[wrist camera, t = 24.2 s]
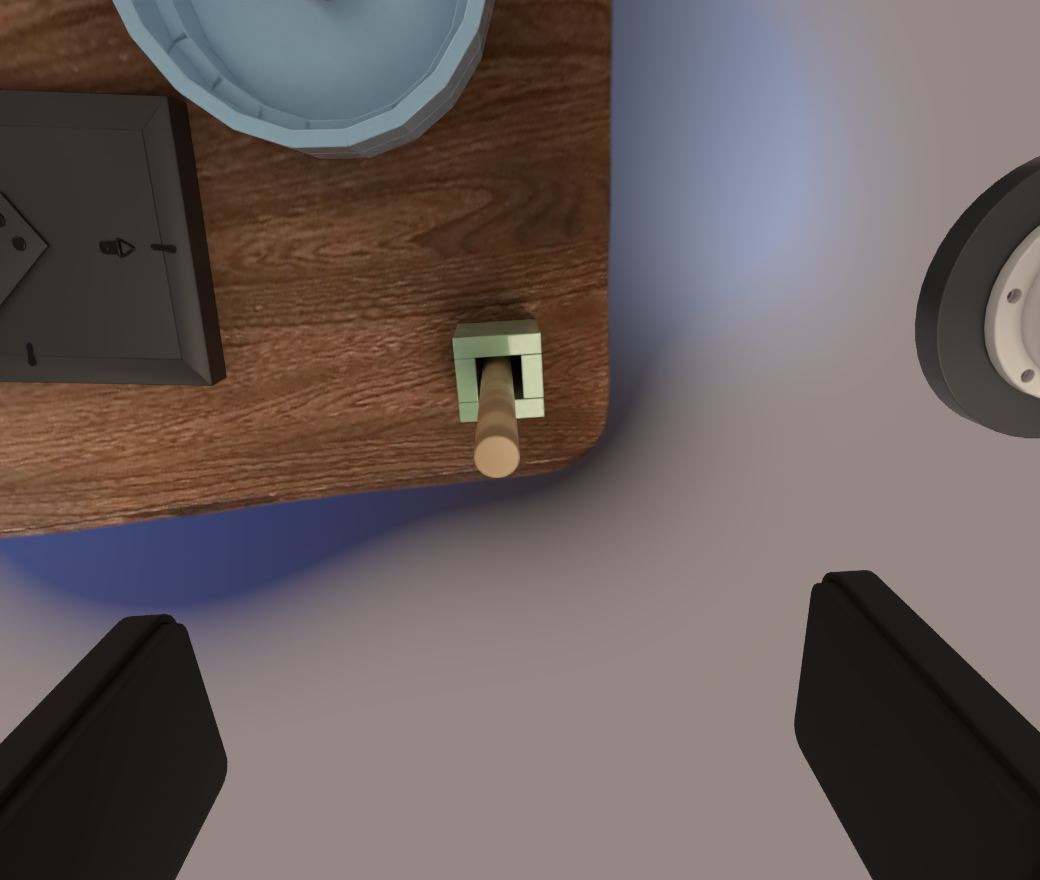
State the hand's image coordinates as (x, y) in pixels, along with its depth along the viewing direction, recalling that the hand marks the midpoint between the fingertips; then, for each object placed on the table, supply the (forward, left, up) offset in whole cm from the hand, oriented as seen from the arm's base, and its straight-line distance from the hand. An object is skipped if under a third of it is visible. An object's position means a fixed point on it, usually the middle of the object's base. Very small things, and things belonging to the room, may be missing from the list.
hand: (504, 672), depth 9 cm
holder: (+2, +1, -31) cm, 31 cm away
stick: (+2, +1, -31) cm, 31 cm away
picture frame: (+12, -26, -31) cm, 42 cm away
